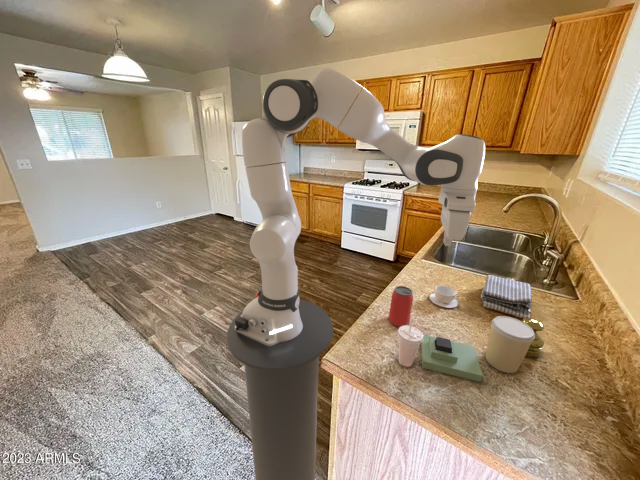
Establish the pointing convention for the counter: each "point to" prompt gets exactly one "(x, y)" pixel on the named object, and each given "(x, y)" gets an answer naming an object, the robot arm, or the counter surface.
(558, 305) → the counter surface
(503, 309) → the towel
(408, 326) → the smoothie
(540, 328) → the gold stacked stones ornament
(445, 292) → the teacup
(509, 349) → the coffee cup
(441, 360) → the green flat stepped block
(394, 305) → the beer can
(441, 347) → the key
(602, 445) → the counter surface
